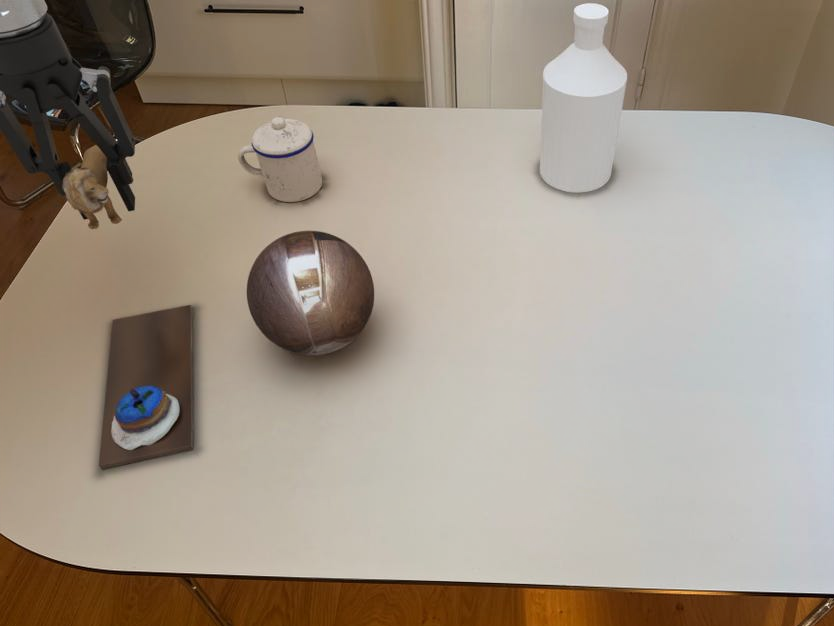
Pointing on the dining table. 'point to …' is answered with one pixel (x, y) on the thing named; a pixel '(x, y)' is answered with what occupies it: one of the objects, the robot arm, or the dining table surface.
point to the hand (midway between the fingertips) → (109, 208)
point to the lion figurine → (90, 187)
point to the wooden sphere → (310, 292)
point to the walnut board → (150, 378)
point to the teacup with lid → (285, 159)
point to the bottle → (581, 107)
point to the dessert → (143, 417)
